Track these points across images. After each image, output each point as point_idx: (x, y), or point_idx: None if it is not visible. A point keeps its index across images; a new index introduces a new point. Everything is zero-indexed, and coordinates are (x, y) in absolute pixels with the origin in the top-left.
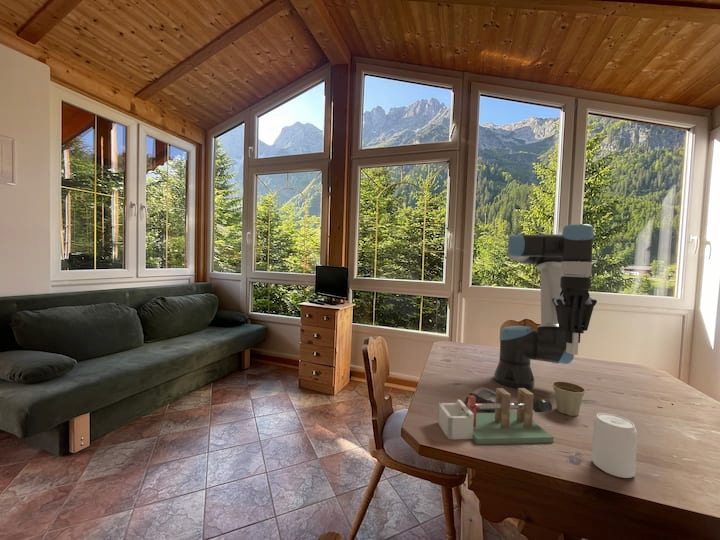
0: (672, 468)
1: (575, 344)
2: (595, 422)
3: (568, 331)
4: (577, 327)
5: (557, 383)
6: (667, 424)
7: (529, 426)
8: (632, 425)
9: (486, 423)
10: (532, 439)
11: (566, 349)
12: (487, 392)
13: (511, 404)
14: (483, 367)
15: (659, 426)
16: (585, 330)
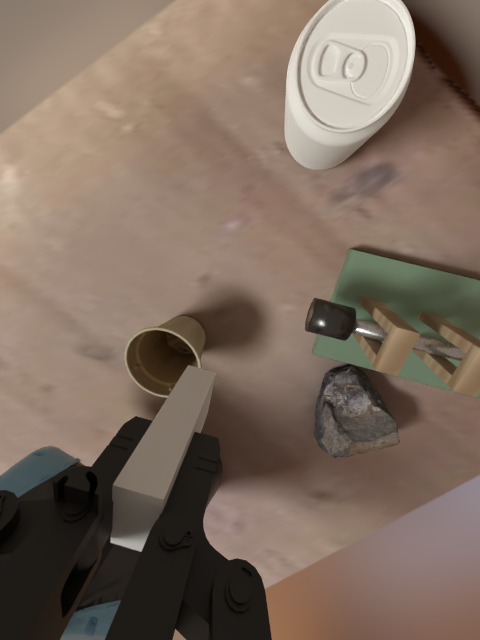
0: (184, 90)
1: (183, 411)
2: (393, 112)
3: (202, 544)
4: (70, 569)
5: (165, 391)
6: (13, 230)
7: (370, 298)
8: (314, 26)
9: None
10: (405, 262)
11: (203, 424)
12: (350, 432)
13: (428, 342)
14: None
15: (39, 229)
16: (7, 495)
